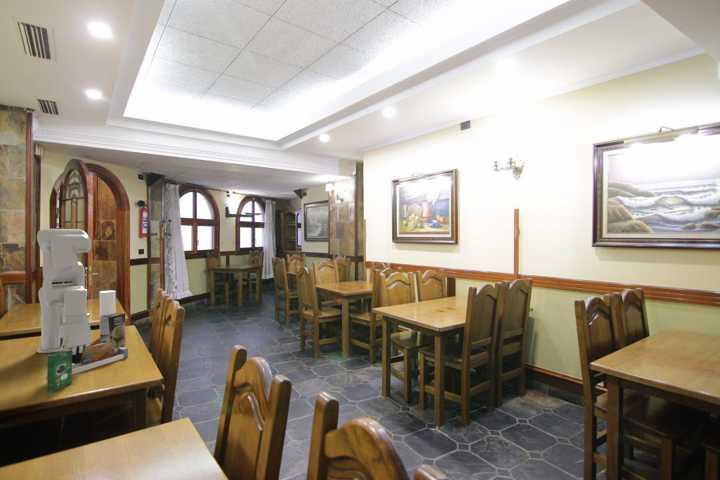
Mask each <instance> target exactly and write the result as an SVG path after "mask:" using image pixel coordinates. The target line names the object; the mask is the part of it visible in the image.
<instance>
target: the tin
mask: <svg viewBox="0 0 720 480" xmlns="http://www.w3.org/2000/svg"><path fill="white" fill-rule="evenodd" d="M119 351H120V348H119V345H118V344H117V343H115V342H105V343H101V344H100V343H98V344H94V345H89V346H87V347H85V348H84V350H83V352H82V353H81V360H80V363H81V364H83V365H87V364H90V363H94V362H97V361H100V360H103V359H107V358H110V357H113V356H117V355H118V354H119Z"/></svg>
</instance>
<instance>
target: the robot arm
mask: <svg viewBox="0 0 720 480" xmlns="http://www.w3.org/2000/svg"><path fill="white" fill-rule="evenodd" d="M36 240H37V243H38V245H39V248H40V250H41V252H42V277H43V281H42V287H40V288H39V290H38V293H37V294H38V300H39V305H40V318H41V319H40V323H41V325H40V326H41V330H40V331H41V335H40V336H41V339H40V340H41V341H40V344H41V345H40V346H41V347H38V348H37V349H36V352H37V353H39V354H53V353H57V352H60V351H62V350H65V349H72V364H77V363H80V360H81V353H82V352H83V350H84V349H85V348H87V347H89V346H91V341H92V332H91V325H90V321H89V320H88V317H90V316H91V314H90V313H88V312H87V311H88V305H87V304H88V302H87V301H88V299H87V298H88V289H87V288H86V287H85V284H86V283H85V280H86V279H85V278H86V276H85V275H86V273H85V271H86V269H85V267H84V264H83V263H82V262H80V261H79V260H78V255H77V253H78V254H80V253H84V254H85V253H89V252H90V251H91V250H92V241H91V238H90V236H89V235H88V233H87V232H86V231H84V230H83V229H79V228H46V229H45V228H43V229H40V230H39V231H37V235H36ZM62 282H69V283H62ZM52 283H55V284H52ZM56 283H57V284H56ZM62 306H63V307H62Z"/></svg>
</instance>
